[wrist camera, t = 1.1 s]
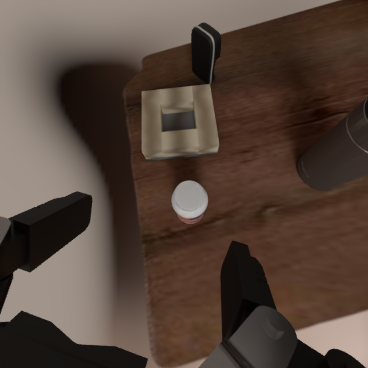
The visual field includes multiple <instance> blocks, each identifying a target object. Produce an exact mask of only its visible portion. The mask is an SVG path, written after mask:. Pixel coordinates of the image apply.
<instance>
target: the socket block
mask: <svg viewBox="0 0 368 368" xmlns="http://www.w3.org/2000/svg"><path fill="white" fill-rule="evenodd" d="M218 147H219V140H218V133H217V127H216V121H215V114H214V108H213V101H212V95H211V89H210V84H206V85H197V86H187V87H178V88H169V89H159V90H150V91H142V153H143V154H144V156H145V158H146V160H147V161H152V160H163V159H173V158H184V157H195V156H205V155H216V154H217V151H218Z"/></svg>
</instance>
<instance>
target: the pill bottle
mask: <svg viewBox="0 0 368 368" xmlns="http://www.w3.org/2000/svg"><path fill="white" fill-rule="evenodd" d="M207 204H208V196H207V193H206V191H205V190H204V188H203V187H202V186H201V185H200V184H199V183H197V182H195V181H191V180H188V181H184V182H182V183H180V184H179V185H178V186H177V187H176V189H175V190H174V192H173V194H172V206H173V208H174V211H175V213H176V215H177V216H178V218H179V219H180V220H181V221H183V222H185V223H189V224H192V223H196V222H198V221H200V220H201V219H202V218H203V216H204V214H205V211H206V208H207Z"/></svg>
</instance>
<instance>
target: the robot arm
mask: <svg viewBox="0 0 368 368" xmlns="http://www.w3.org/2000/svg"><path fill="white" fill-rule="evenodd" d="M297 169H298V173H299V175H300V177H301V179H302V180H303V181H304V182H305V183H306V184H308V185H309V186H311V187H313V188H315V189H318V190H331V189H334V188H336V187H339V186H341V185H343V184H345V183H348V182H350V181H352V180H355V179H357V178H359V177H361V176H364V175H366V174H368V97H367V98H366V99H365V100H364V101H362V102H361V103H360V104H359V105H358V106H357V107H356V108H355V109H353V110H352V111H351V112H350V113H349V114H348V115H347V116H346V117H345V118H343V119H342V120H341V121H340V122H339V123H338V124H337V125H336V126H334V127H333V128H332V129H331V130H330V131H329V132H328V133H327V134H325V135H324V136H323V137H322V138H321V139H320V140H319V141H318V142H316V143H315V144H314V145H313V146H312V147H311V148H310V149H309V150H307V151H306V152H305V153H304V154H303V155H302V156H301V157H300V158H299V160H298V163H297ZM91 208H92V196H91V195H87V194H84V193H81V192H74V193H72V194H70V195H68V196H66V197H61V198H56V199H53V200H50V201H48V202H46V203H45V204H41V205H39V206H37V207H34V208H32V209H29V210H27V211H25V212H22V213H20V214H18V215H15V216H13V217H11V218H8V219H7V218H4V217H0V314H1V311H2V308H3V305H4V302H5V299H6V297H7V294H8V291H9V288H10V285H11V283H12V280H13V272H14V271H15V270H17V269H18V268H19V269H22V270H25V271H27V272H31V271H33V270H34V269H35V268H37V267H38V266H39V265H41V264H42V263H43V262H44V261H46V260H47V259H48V258H50V257H51V256H52V255H53V254H55V253H56V252H57V251H59V250H60V249H61V248H63V247H64V246H65V245H67V244H68V243H69V242H70V241H72V240H73V239H74V238H76V237H77V236H78V235H79V234H81V233H82V232H83V231H85V230H86V228H87V227H88V225H89V223H90V217H91ZM220 278H221V313H222V342H221V343H220V344H219V345H218V346H217V347H216V349H215V350H214V351H213V352H212V353H211V354H210V355H209V356H208V358H207V359H206V360H205V361H204V362H203V363H202V364H201V366H200V367H199V368H365V367H364V366H363V365H362V364H361V363H360V362H359V361H357V360H356V359H355V358H353V357H352V356H351V355H349V354H347V353H346V352H343V351H341V350H338V349H331V350H329V351H328V352H327V354H326V355H325V356H323V355H321V354H320V353H319V352H317V351H316V350H314V349H312V348H311V347H309V346H308V345H306V344H305V343H303V342H302V341H300V340H299V339H297V335H296V333H295V330H294V328H293V327H292V325H291V324H290V323H289V321H288V320H287V319H286V318H285V317H284V316H283V315H282V314H281V313H279V312H278V311H277V309H276V306H275V303H274V300H273V297H272V294H271V291H270V288H269V285H268V284H267V279H266V277H265V273H264V270H263V267H262V266H261V264H260V263H259V262H258V260H257V259H256V258H255V257H251V256H250V252H249V248H248V245H246V244H243V243H239V242H236V241H232V242H231V244H230V247H229V249H228V252H227V254H226V257H225V259H224V262H223V265H222V268H221V275H220ZM147 360H148V359H147V358H145V357H142V356H139V355H136V354H134V353H131V352H129V351H126V350H124V349H121V348H118V347H116V346H99V345H81V344H76V343H75V342H73V341H72V340H71V339H70V338H69V337H67V336H66V335H65V334H64V333H63V332H62V331H61V330H60V329H59V328H57V327H56V326H55V325H54V324H53V323H52V322H50V321H47V320H45V319H42V318H40V317H36V316H34V315H31V314H29V313H26V312H24V311H21V312H20V313H18V314H17V315H16V316H15V317H14V318H13V319H12V320H11V321H10V322H0V368H145V367H146V364H147Z"/></svg>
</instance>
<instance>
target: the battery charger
mask: <svg viewBox="0 0 368 368" xmlns="http://www.w3.org/2000/svg"><path fill="white" fill-rule="evenodd" d="M191 44H192V71H193V72H194V73H195V74H196V75H197V76H198V77H199V78H200V79H202V80H203V81H204V82H205V83H207V84H210V83H211V82H212V81H213V80H214V79H215V75H214V66H215V62H216V59H218V58H219V57H220V51H221V35H220V33H219V32H217V31H216V30H215V29H214V28H213V27H211V26H210V25H208V24H207V23H201V24H199V25H198V26H195V27H194V28H193V29H192V34H191Z"/></svg>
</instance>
